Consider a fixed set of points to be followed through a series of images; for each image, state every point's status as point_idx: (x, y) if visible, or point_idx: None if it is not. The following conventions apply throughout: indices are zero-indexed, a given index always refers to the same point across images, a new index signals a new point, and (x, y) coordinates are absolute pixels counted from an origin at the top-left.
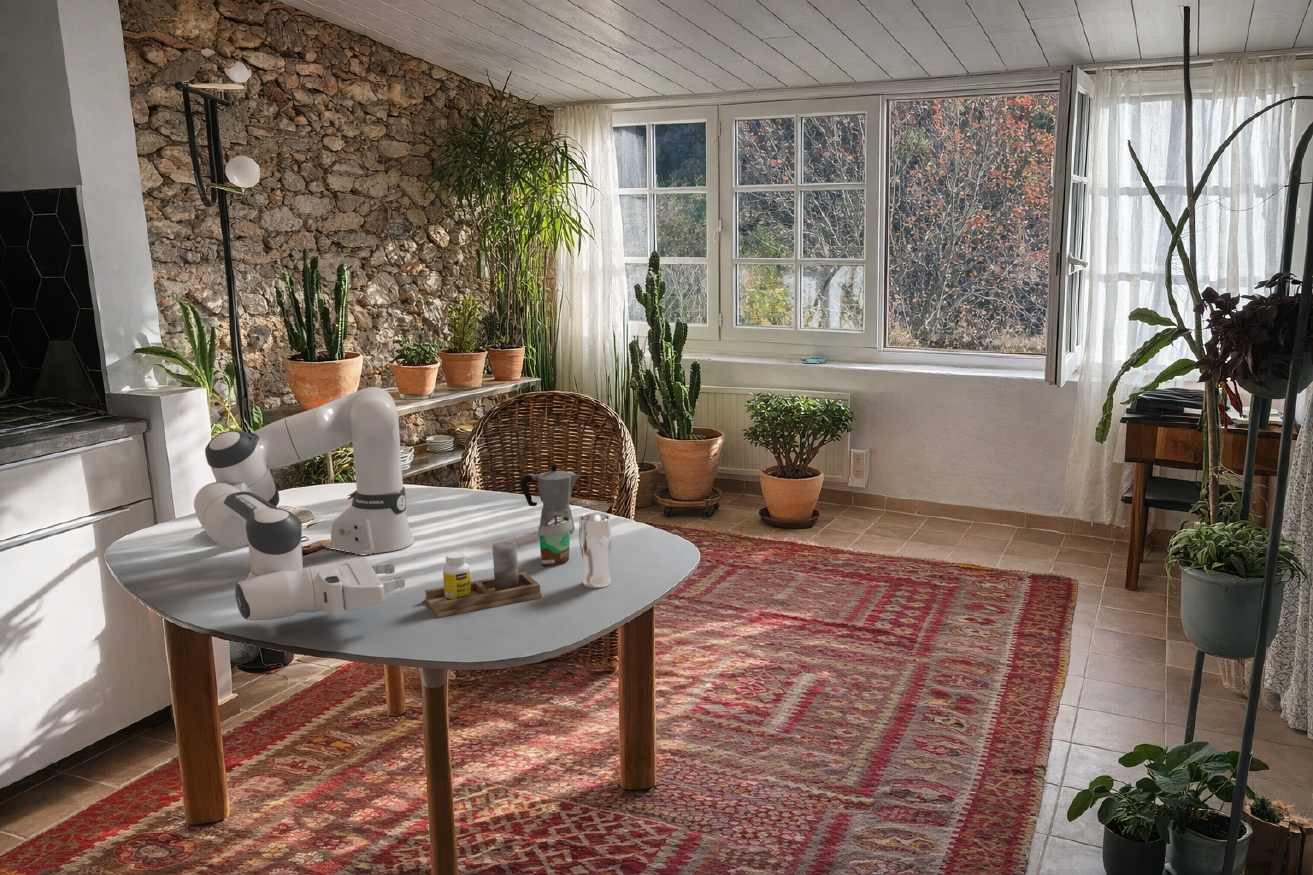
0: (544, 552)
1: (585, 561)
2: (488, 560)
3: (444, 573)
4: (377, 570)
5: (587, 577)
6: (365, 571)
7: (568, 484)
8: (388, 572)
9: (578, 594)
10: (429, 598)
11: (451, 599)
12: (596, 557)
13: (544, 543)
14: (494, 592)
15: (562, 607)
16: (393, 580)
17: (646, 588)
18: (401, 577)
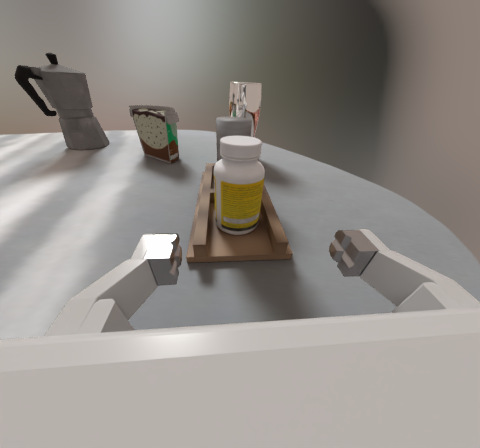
0: (172, 146)
1: None
2: (97, 181)
3: (246, 185)
4: (122, 310)
5: None
6: (324, 407)
7: (86, 83)
8: (177, 271)
9: (262, 163)
10: (206, 252)
11: (254, 224)
12: (256, 126)
13: (171, 134)
14: None
15: (290, 173)
16: (399, 256)
17: (266, 147)
18: (349, 231)
